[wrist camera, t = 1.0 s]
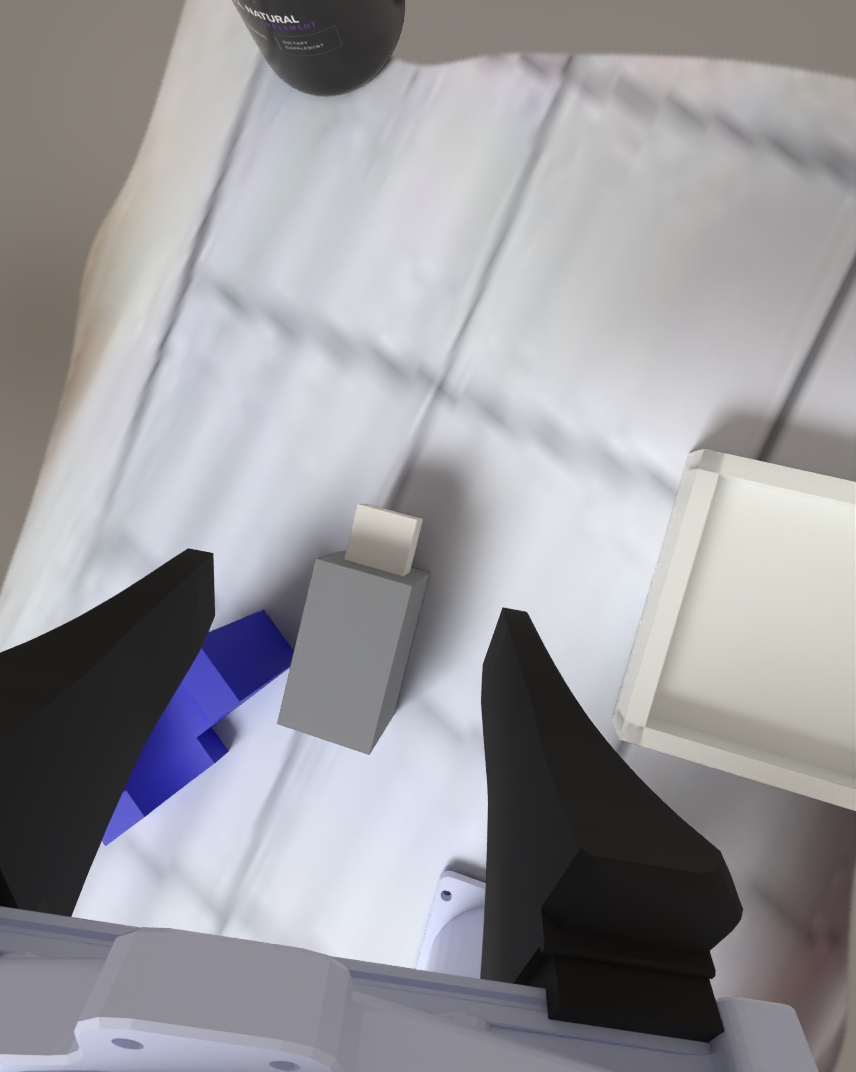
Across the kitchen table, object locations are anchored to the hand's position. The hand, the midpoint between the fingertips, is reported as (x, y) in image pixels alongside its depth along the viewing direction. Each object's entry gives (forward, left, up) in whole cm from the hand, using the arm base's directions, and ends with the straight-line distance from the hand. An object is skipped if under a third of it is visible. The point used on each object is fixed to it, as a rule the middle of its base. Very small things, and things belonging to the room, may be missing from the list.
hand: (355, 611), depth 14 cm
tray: (+1, -15, -12) cm, 19 cm away
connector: (-3, +2, -12) cm, 13 cm away
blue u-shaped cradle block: (-11, +9, -12) cm, 19 cm away
